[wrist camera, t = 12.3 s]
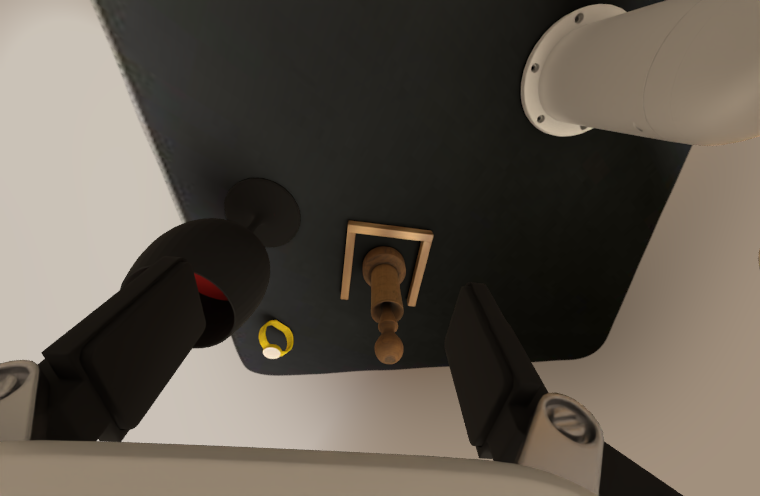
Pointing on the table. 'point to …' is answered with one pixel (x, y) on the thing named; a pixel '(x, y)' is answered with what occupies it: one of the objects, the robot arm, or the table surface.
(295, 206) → the wine glass
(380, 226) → the frame
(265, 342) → the watch
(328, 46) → the table surface
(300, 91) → the table surface
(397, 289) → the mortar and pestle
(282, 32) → the table surface
